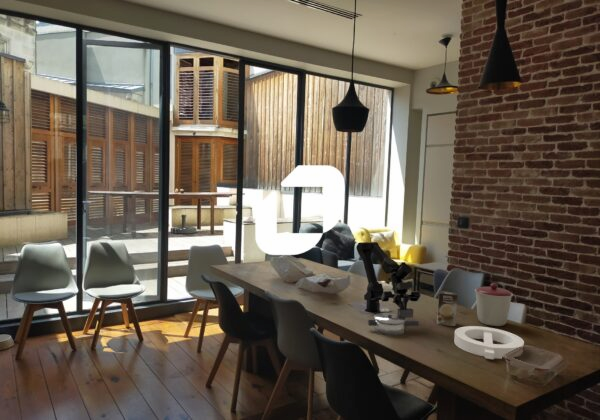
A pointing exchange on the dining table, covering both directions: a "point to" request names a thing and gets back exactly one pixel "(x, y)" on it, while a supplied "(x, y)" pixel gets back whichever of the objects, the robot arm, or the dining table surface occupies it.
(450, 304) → the coffee box
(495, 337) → the ring with crossbar
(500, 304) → the canister
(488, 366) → the dining table surface
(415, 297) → the robot arm
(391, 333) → the pot
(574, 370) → the dining table surface
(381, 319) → the lid
